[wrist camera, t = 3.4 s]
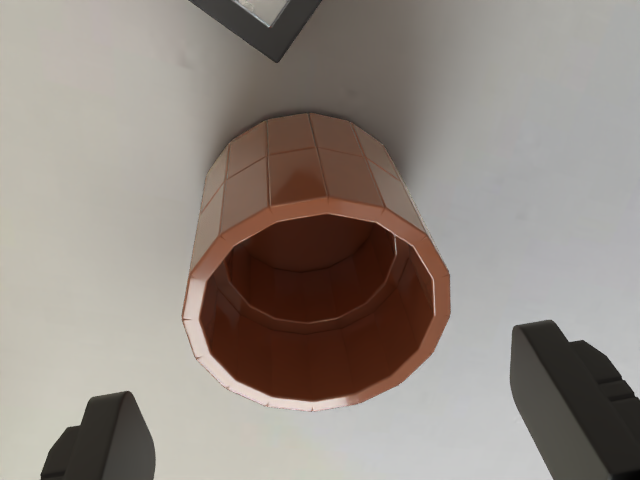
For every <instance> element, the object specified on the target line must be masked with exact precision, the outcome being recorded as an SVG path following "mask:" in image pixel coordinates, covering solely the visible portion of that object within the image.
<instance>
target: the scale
mask: <svg viewBox="0 0 640 480" xmlns="http://www.w3.org/2000/svg"><path fill="white" fill-rule="evenodd" d="M189 1H190V2H192V3H193V4H194V5H196V6H197V7H199V8H200V9H201V10H203V11H204V12H206V13H207V14H208V15H210V16H211V17H212V18H214V19H215V20H217V21H218V22H219V23H221V24H222V25H224V26H225V27H226V28H228V29H229V30H231V31H232V32H233V33H235V34H236V35H238V36H239V37H240V38H242V39H243V40H244V41H246V42H247V43H249V44H250V45H251V46H253V47H254V48H256V49H257V50H258V51H260V52H261V53H263V54H264V55H265V56H267V57H268V58H269V59H271V60H272V61H274V62H275V63H278V62H279V61H280V60H281V58H282V57H283V56H284V54H285V53H286V51H287V50H288V48H289V47H290V46H291V44H292V43H293V41H294V40H295V38H296V37H297V35H298V34H299V33H300V31H301V30H302V28H303V27H304V25H305V24H306V23H307V21H308V20H309V18H310V17H311V15H312V14H313V13H314V11H315V10H316V8H317V7H318V5H319V4H320V3H321V1H322V0H291V1H290V3H289V4H288V5H287V7H286V8H285V10H284V11H283V13H282V14H281V16H280V17H279V19H278V20H277V22H276V23H275V25H274V26H273V27H272V28H267V27H266V26H265V25H263V24H262V23H261V22H259V21H258V20H257V19H255V18H254V17H253V16H251V15H250V14H249V13H247V12H246V11H245V10H243V9H242V8H241V7H239V6H238V5H236V4H235V3H234V2H232V1H231V0H189Z"/></svg>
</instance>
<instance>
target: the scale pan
mask: <svg viewBox="0 0 640 480" xmlns="http://www.w3.org/2000/svg"><path fill="white" fill-rule="evenodd" d="M231 1H232V2H234V3H235V4H236V5H238V6H239V7H241V8H242V9H243V10H245V11H246V12H247V13H249V14H250V15H251V16H253V17H254V18H255V19H257V20H258V21H259V22H261V23H262V24H263V25H265V26H266V27H267V28H272V27H273V26H274V25H275V23H276V22H277V20H278V19H279V17H280V16H281V14H282V13H283V11H284V10H285V8H286V7H287V5H288V4H289V3H290V1H291V0H231Z"/></svg>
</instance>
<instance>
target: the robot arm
mask: <svg viewBox="0 0 640 480" xmlns="http://www.w3.org/2000/svg"><path fill="white" fill-rule="evenodd" d="M510 385H511V391H512V395H513V398H514V401H515V404H516V406H517V409H518V411H519V413H520V415H521V416H522V418H523V420H524V422H525V424H526V426H527V428H528V430H529V432H530V434H531V436H532V438H533V440H534V442H535V444H536V446H537V448H538V450H539V452H540V454H541V456H542V458H543V460H544V462H545V464H546V466H547V468H548V470H549V472H550V474H551V476H552V478H553V480H640V400H639V398H638V397H635V395H634V392H633V391H632V389H631V388H630V387H629V385H628V384H627V383H626V381H625V380H622V376H621V375H620V373H619V372H618V371H617V369H616V368H615V367H614V365H613V364H612V363H611V361H610V360H609V359H608V357H607V356H606V355H604V354H603V353H601V352H600V351H598V350H597V349H595V348H594V347H593V346H591V345H590V344H588V343H587V342H585V341H584V340H580V341H574V342H568V340H567V339H566V337H565V336H564V334H563V333H562V331H561V330H560V329H559V327H558V326H557V324H556V323H555V322H554V321H552V320H544V321H539V322H533V323H527V324H521V325H516V326H514V327H513V330H512V344H511V364H510ZM155 461H156V459H155V448H154V443H153V439H152V437H151V434H150V432H149V430H148V428H147V425H146V423H145V421H144V418H143V416H142V414H141V412H140V409H139V407H138V405H137V403H136V400H135V398H134V396H133V394H132V393H131V392H130V391H124V392H119V393H113V394H107V395H101V396H95V397H92V398H91V399H90V400H89V401H88V404H87V406H86V409H85V413H84V416H83V419H82V422H81V425H80V426H74V427H68V428H67V429H66V430H65V431H64V433H63V434H62V435H61V436H60V438H59V439H58V440H57V442H56V443H55V444H54V445H53V447H52V448H51V449H50V451H49V453H48V456H47V459H46V461H45V464H44V467H43V470H42V472H41V480H153V478H154V472H155Z"/></svg>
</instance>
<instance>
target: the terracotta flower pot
mask: <svg viewBox="0 0 640 480" xmlns="http://www.w3.org/2000/svg"><path fill="white" fill-rule="evenodd" d="M450 314H451V304H450V274H449V270H448V268H447V266H446V264H445V262H444V260H443V258H442V256H441V254H440V252H439V250H438V248H437V246H436V244H435V242H434V240H433V238H432V236H431V234H430V232H429V230H428V228H427V226H426V224H425V222H424V220H423V218H422V217H421V214H420V213H419V211H418V209H417V207H416V205H415V203H414V201H413V199H412V197H411V195H410V193H409V191H408V189H407V187H406V185H405V183H404V181H403V179H402V177H401V175H400V173H399V171H398V169H397V168H396V166H395V164H394V162H393V161H392V159H391V157H390V155H389V154H388V152H387V150H386V148H385V146H384V145H382V143H380V142H379V141H377V140H376V139H375V138H373V137H372V136H370V135H369V134H368V133H366V132H365V131H363V130H362V129H361V128H359V127H358V126H356V125H355V124H354V123H350V121H347V120H342V119H338V118H333V117H329V116H324V115H320V114H315V113H309V114H308V113H303V114H297V115H291V116H285V117H279V118H273V119H268V120H267V121H262V122H261V123H259V124H257V125H256V126H254V127H253V128H251V129H249V130H248V131H246V132H244V133H243V134H241V135H240V136H238V137H236V138H235V139H233V140H231V142H230V143H229V144H227V146H226V147H225V149H224V150H223V151H222V153H221V154H220V156H219V157H218V159H217V160H216V161H215V163H214V164H213V166H212V167H211V169H210V170H209V171H208V174H207V176H206V179H205V185H204V191H203V196H202V202H201V208H200V213H199V219H198V225H197V230H196V236H195V242H194V247H193V253H192V259H191V264H190V270H189V276H188V281H187V287H186V293H185V299H184V304H183V310H182V322H183V325H184V328H185V331H186V334H187V336H188V339H189V342H190V345H191V348H192V351H193V354H194V357H195V358H196V360H197V361H198V362H199V363H200V364H201V365H202V366H203V367H204V368H205V369H206V370H207V371H208V372H209V373H210V374H211V375H212V376H213V377H214V378H215V379H216V380H217V381H218V382H219V383H220V384H221V385H222V386H223V387H224V388H226V389H227V390H229V391H232V392H234V393H236V394H238V395H241V396H243V397H245V398H248V399H250V400H252V401H254V402H257V403H259V404H261V405H263V406H267V407H273V408H282V409H291V410H300V411H309V412H312V411H314V412H315V411H321V410H327V409H333V408H338V407H344V406H350V405H356V404H358V403H362V402H364V401H366V400H368V399H370V398H373V397H375V396H377V395H379V394H381V393H383V392H385V391H387V390H389V389H391V388H393V387H396V386H398V385H399V384H400V383H402V382H403V381H404V380H405V379H406V378H408V377H409V376H410V375H411V374H412V373H413V372H414V371H415V370H416V369H417V368H418V367H419V366H420V365H421V364H422V363H423V362H424V361H425V360H427V359H428V358H429V357H430V356H431V355H432V353H433V352H434V350H435V348H436V346H437V343H438V341H439V339H440V337H441V335H442V333H443V331H444V328H445V326H446V324H447V322H448V320H449V318H450Z"/></svg>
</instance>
